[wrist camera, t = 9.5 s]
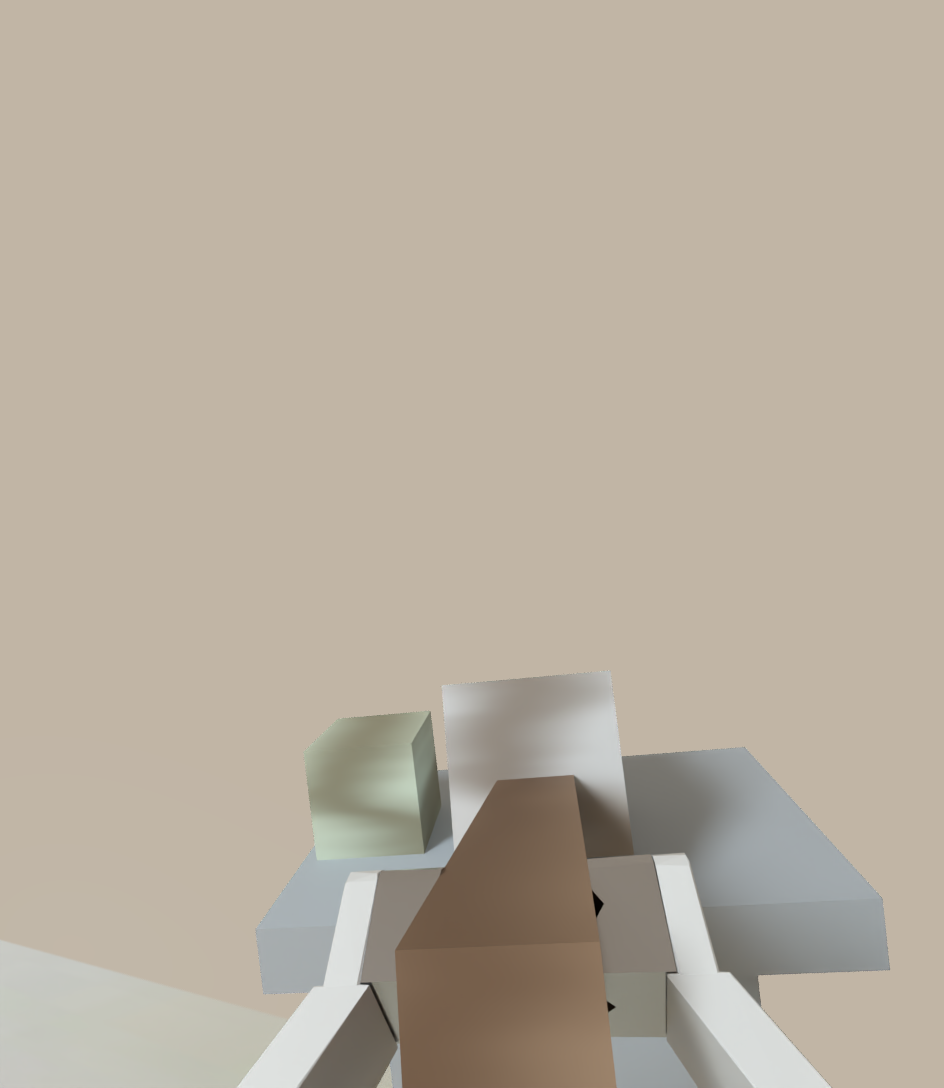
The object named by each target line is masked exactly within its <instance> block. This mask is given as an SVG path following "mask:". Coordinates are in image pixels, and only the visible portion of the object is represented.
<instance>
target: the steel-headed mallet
mask: <svg viewBox="0 0 944 1088" xmlns="http://www.w3.org/2000/svg"><path fill="white" fill-rule="evenodd" d="M442 693H443V707H444V721H445V734H446V748H447V762H448V775H449V789H450V802H451V816H452V829H453V843H454V853H453V854H452V856H451V858H450V859H449V861H448V863H447V864H446V866H445V868H444V870H443V871H442V873H441V875H440V876H439V878H438V879H437V881H436V883H435V884H434V886H433V888H432V889H431V891H430V893H429V894H428V896H427V898H426V899H425V901H424V903H423V904H422V906H421V908H420V909H419V911H418V913H417V914H416V916H415V918H414V919H413V921H412V923H411V924H410V926H409V928H408V929H407V931H406V933H405V934H404V936H403V938H402V939H401V941H400V943H399V944H398V946H397V948H396V949H395V964H396V982H397V1000H398V1019H399V1037H400V1056H401V1074H402V1088H617V1086H616V1077H615V1069H614V1060H613V1051H612V1043H611V1034H610V1025H609V1017H608V1008H607V999H606V991H605V982H604V973H603V965H602V956H601V947H600V940H599V933H598V927H597V921H596V914H595V908H594V902H593V895H592V889H591V883H590V876H589V870H588V864H587V858H592V857H609V856H627V855H634V850H633V842H632V835H631V827H630V819H629V811H628V804H627V796H626V788H625V780H624V773H623V765H622V757H621V749H620V742H619V734H618V726H617V719H616V711H615V703H614V695H613V688H612V680H611V672H610V671H601V672H590V673H578V674H567V675H556V676H544V677H533V678H522V679H511V680H499V681H488V682H477V683H465V684H454V685H444V686H442Z"/></svg>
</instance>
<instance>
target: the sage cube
mask: <svg viewBox="0 0 944 1088" xmlns="http://www.w3.org/2000/svg"><path fill="white" fill-rule="evenodd" d="M304 759H305V768H306V776H307V784H308V791H309V801H310V809H311V816H312V825H313V833H314V842H315V850H316V858H317V860H331V859H347V858H364V857H380V856H396V855H412V854H425V851H426V848H427V845H428V842H429V839H430V837H431V834H432V831H433V828H434V825H435V822H436V820H437V817H438V814H439V811H440V808H441V797H440V788H439V780H438V771H437V763H436V754H435V746H434V737H433V729H432V720H431V712H430V711H424V712H413V713H401V714H389V715H377V716H366V717H354V718H342V719H338V720H336V721H335V722H334V723H333V724H332V725H331V726H330V727H329V728H328V729H327V730H326V731H325V732H324V733H323V734H322V735H321V736H320V737H319V738H318V739H317V740H316V741H314V743H313V744H311V745H310V746H309V747H308V748H307V749H306V750H305V751H304Z"/></svg>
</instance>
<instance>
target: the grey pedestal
mask: <svg viewBox="0 0 944 1088" xmlns="http://www.w3.org/2000/svg"><path fill="white" fill-rule="evenodd" d="M622 765H623V773H624V780H625V788H626V796H627V804H628V811H629V819H630V827H631V835H632V842H633V850H634V855H646V854H651V855H656V854H672V853H685V855H686V856H687V858H688V860H689V861H690V864H691V868H692V871H693V875H694V879H695V883H696V886H697V890H698V894H699V898H700V901H701V905H702V909H703V913H704V916H705V920H706V924H707V927H708V931H709V935H710V939H711V942H712V946H713V950H714V954H715V957H716V961H717V965H718V969H719V972H731V973H732V975H733V976H734V977H735V978H736V979H737V980H738V981H739V983H740V984H741V985H742V986H743V987H744V988H745V989H746V991H747V992H748V993H749V994H750V995H751V996H752V997H753V998H754V1000H755V1001H756V1002H757V1003H758V1004H759V1005H760V1006H761V1001H760V992H759V983H758V975H773V974H774V975H775V974H798V973H799V974H801V973H823V972H824V973H826V972H852V971H878V970H890V966H889V957H888V947H887V937H886V928H885V920H884V919H885V918H884V909H883V899H882V897H881V896H880V895H879V894H878V893H877V892H876V891H875V890H874V889H873V887H872V886H871V885H870V884H869V883H868V882H867V881H866V880H865V879H864V878H863V876H862V875H861V874H860V873H859V872H858V871H857V870H856V869H855V868H854V867H853V865H852V864H851V863H850V862H849V861H848V860H847V859H846V858H845V857H844V856H843V854H842V853H841V852H840V851H839V850H838V849H837V848H836V847H835V846H834V845H833V844H832V842H831V841H830V840H829V839H828V838H827V837H826V836H825V835H824V834H823V833H822V831H821V830H820V829H819V828H818V827H817V826H816V825H815V824H814V823H813V822H812V821H811V819H810V818H808V816H807V815H806V814H805V813H804V812H803V811H802V810H801V808H800V807H799V806H798V805H797V804H796V803H795V802H794V801H793V800H792V799H791V797H790V796H789V795H788V794H787V793H786V792H785V791H784V790H783V789H782V788H781V786H780V785H779V784H778V783H777V782H776V781H775V780H774V779H773V778H772V777H771V776H770V774H769V773H768V772H767V771H766V770H765V769H764V768H763V767H762V766H761V765H760V763H759V762H758V761H757V760H756V759H755V758H754V757H753V756H752V755H751V754H750V753H749V751H748V750H747V749H746V748H745V747H742V748H728V749H715V750H702V751H689V752H675V753H663V754H649V755H636V756H623V757H622ZM438 780H439V788H440V797H441V808H440V811H439V814H438V817H437V820H436V822H435V825H434V828H433V831H432V834H431V837H430V839H429V842H428V845H427V848H426V851H425V854H412V855H396V856H380V857H364V858H347V859H331V860H317V858H316V850H315V846H314V847H313V849H312V850H311V851H310V853H309V854H308V856H307V857H306V859H305V860H304V861H303V863H302V864H301V866H300V867H299V868H298V870H297V872H296V873H295V874H294V876H293V877H292V878H291V880H290V881H289V883H288V884H287V886H286V887H285V888H284V890H283V891H282V893H281V894H280V896H279V897H278V898H277V900H276V901H275V903H274V904H273V905H272V907H271V908H270V910H269V911H268V913H267V914H266V916H265V917H264V918H263V920H262V921H261V923H260V924H259V925H258V927H257V928H256V937H257V946H258V954H259V962H260V969H261V978H262V986H263V994H281V993H306V992H307V993H308V992H310V991H311V989H312V988H313V987H314V986H323V984H324V980H325V975H326V970H327V966H328V961H329V956H330V952H331V947H332V942H333V938H334V933H335V928H336V924H337V919H338V914H339V910H340V905H341V900H342V896H343V891H344V886H345V883H346V881H347V879H348V877H349V875H350V872H359V871H374V870H402V869H420V868H438V867H444V868H445V866H446V864H447V863H448V861H449V859H450V858H451V856H452V854H453V853H454V843H453V829H452V816H451V802H450V789H449V775H448V770H438ZM627 856H633V855H627ZM609 857H620V856H609ZM593 858H607V857H592V858H587V859H593ZM611 1043H612V1051H613V1060H614V1069H615V1077H616V1086H617V1088H698V1087H697V1085H696V1084H695V1082H694V1081H693V1079H692V1078H691V1076H690V1075H689V1073H688V1072H687V1070H686V1069H685V1067H684V1066H683V1064H682V1063H681V1061H680V1060H679V1058H678V1057H677V1055H676V1054H675V1052H674V1051H673V1049H672V1048H671V1046H670V1045H669V1043H668V1042H667V1037H611ZM397 1046H398V1049H397V1051H396V1053H395V1055H394V1056H393V1058H392V1060H391V1062H390V1067H391V1075H392V1084H393V1088H402V1074H401V1056H400V1044H397Z"/></svg>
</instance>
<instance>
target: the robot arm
mask: <svg viewBox="0 0 944 1088" xmlns="http://www.w3.org/2000/svg"><path fill="white" fill-rule="evenodd" d="M587 864H588V870H589V876H590V883H591V889H592V895H593V902H594V908H595V914H596V921H597V927H598V933H599V940H600V947H601V956H602V965H603V973H604V982H605V991H606V999H607V1008H608V1017H609V1025H610V1034H611V1037H667V1042H668V1043H669V1045H670V1046H671V1048H672V1049H673V1051H674V1052H675V1054H676V1055H677V1057H678V1058H679V1060H680V1061H681V1063H682V1064H683V1066H684V1067H685V1069H686V1070H687V1072H688V1073H689V1075H690V1076H691V1078H692V1079H693V1081H694V1082H695V1084H696V1085H697V1087H698V1088H832V1087H831V1086H830V1085H829V1084H828V1083H827V1082H826V1081H825V1079H824V1078H823V1077H822V1076H821V1075H820V1074H819V1072H818V1071H817V1070H816V1069H815V1068H814V1067H813V1066H812V1064H811V1063H810V1062H809V1061H808V1060H807V1059H806V1058H805V1056H804V1055H803V1054H802V1053H801V1052H800V1051H799V1050H798V1049H797V1047H796V1046H795V1045H794V1044H793V1043H792V1042H791V1041H790V1040H789V1038H788V1037H787V1036H786V1035H785V1034H784V1033H783V1032H782V1030H781V1029H780V1028H779V1027H778V1026H777V1025H776V1024H775V1022H774V1021H773V1020H772V1019H771V1018H770V1017H769V1016H768V1014H767V1013H766V1012H765V1011H764V1010H763V1009H762V1008H761V1006H760V1005H759V1004H758V1003H757V1002H756V1001H755V1000H754V998H753V997H752V996H751V995H750V994H749V993H748V992H747V991H746V989H745V988H744V987H743V986H742V985H741V984H740V983H739V981H738V980H737V979H736V978H735V977H734V976H733V975H732V973H731V972H719V969H718V965H717V961H716V957H715V954H714V950H713V946H712V942H711V939H710V935H709V931H708V927H707V924H706V920H705V916H704V913H703V909H702V905H701V901H700V898H699V894H698V890H697V886H696V883H695V879H694V875H693V871H692V868H691V864H690V861H689V860H688V858H687V856H686V855H685V853H672V854H656V855H651V854H646V855H633V856H620V857H607V858H593V859H587ZM443 870H444V867H438V868H420V869H402V870H374V871H359V872H350V875H349V877H348V879H347V881H346V883H345V886H344V891H343V896H342V900H341V905H340V910H339V914H338V919H337V924H336V928H335V933H334V938H333V942H332V947H331V952H330V956H329V961H328V966H327V970H326V975H325V980H324V984H323V986H314V987H313V988H312V989H311V991H310V992H309V994H308V995H307V996H306V997H305V999H304V1000H303V1001H302V1003H301V1004H300V1005H299V1007H298V1008H297V1009H296V1011H295V1012H294V1013H293V1014H292V1016H291V1017H290V1018H289V1020H288V1021H287V1022H286V1024H285V1025H284V1026H283V1027H282V1029H281V1030H280V1031H279V1033H278V1034H277V1035H276V1037H275V1038H274V1039H273V1041H272V1042H271V1043H270V1044H269V1046H268V1047H267V1048H266V1050H265V1051H264V1052H263V1054H262V1055H261V1056H260V1058H259V1059H258V1060H257V1062H256V1063H255V1064H254V1065H253V1067H252V1068H251V1069H250V1071H249V1072H248V1073H247V1075H246V1076H245V1077H244V1079H243V1080H242V1081H241V1082H240V1084H239V1085H238V1086H237V1088H376V1087H377V1086H378V1084H379V1082H380V1080H381V1078H382V1076H383V1075H384V1073H385V1071H386V1069H387V1067H388V1066H389V1064H390V1062H391V1060H392V1058H393V1056H394V1055H395V1053H396V1051H397V1049H398V1046H397V1044H400V1037H399V1019H398V1000H397V982H396V964H395V949H396V948H397V946H398V944H399V943H400V941H401V939H402V938H403V936H404V934H405V933H406V931H407V929H408V928H409V926H410V924H411V923H412V921H413V919H414V918H415V916H416V914H417V913H418V911H419V909H420V908H421V906H422V904H423V903H424V901H425V899H426V898H427V896H428V894H429V893H430V891H431V889H432V888H433V886H434V884H435V883H436V881H437V879H438V878H439V876H440V875H441V873H442V871H443Z"/></svg>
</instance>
